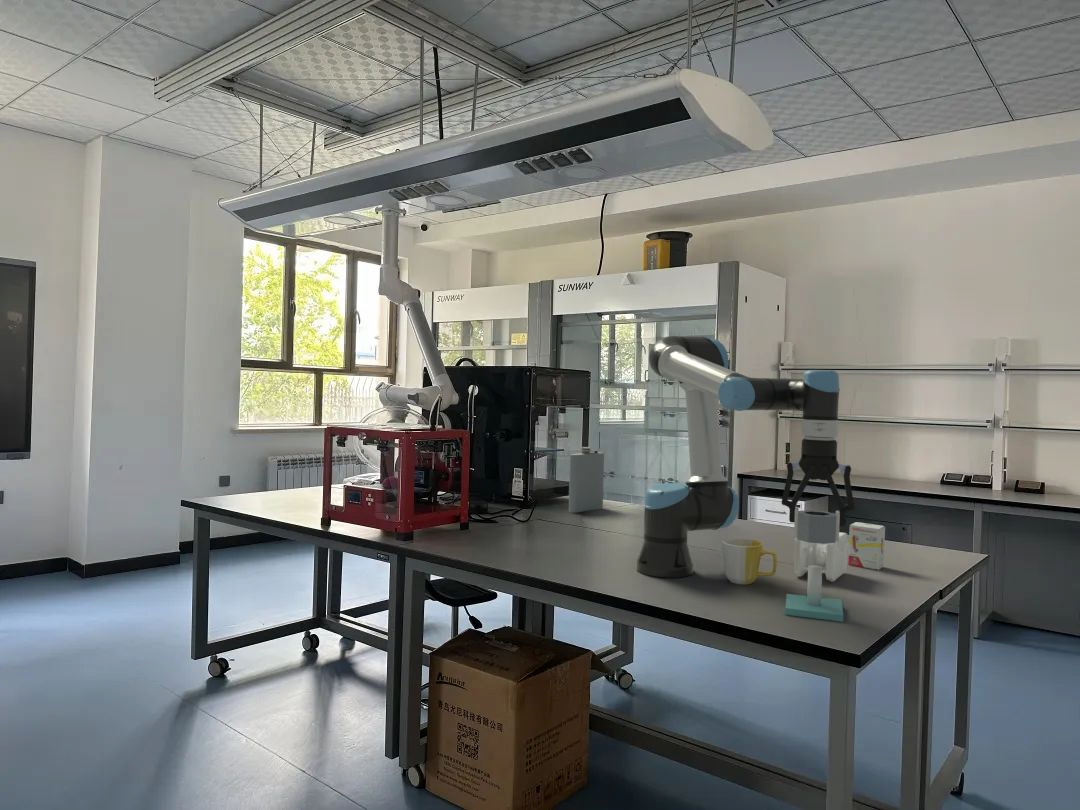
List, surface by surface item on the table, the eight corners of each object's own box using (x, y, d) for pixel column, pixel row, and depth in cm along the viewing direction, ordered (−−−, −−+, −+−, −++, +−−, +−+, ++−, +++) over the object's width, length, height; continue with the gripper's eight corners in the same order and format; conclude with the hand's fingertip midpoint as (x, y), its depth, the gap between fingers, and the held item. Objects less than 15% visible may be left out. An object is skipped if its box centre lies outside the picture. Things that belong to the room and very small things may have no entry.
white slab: (596, 506, 302) (597, 445, 302) (604, 508, 299) (605, 446, 298) (565, 511, 291) (566, 447, 290) (573, 513, 287) (575, 448, 287)
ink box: (847, 564, 213) (848, 523, 213) (852, 561, 217) (854, 521, 216) (878, 570, 207) (880, 528, 207) (884, 567, 211) (885, 525, 211)
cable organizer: (809, 567, 209) (810, 526, 209) (848, 573, 203) (850, 531, 203) (792, 578, 197) (794, 534, 197) (834, 585, 191) (836, 540, 191)
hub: (797, 541, 166) (798, 514, 166) (797, 534, 173) (798, 509, 173) (835, 544, 163) (836, 517, 163) (834, 538, 171) (835, 512, 171)
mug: (714, 582, 191) (715, 542, 191) (728, 574, 200) (729, 535, 199) (768, 592, 183) (769, 549, 183) (779, 583, 192) (781, 542, 192)
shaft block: (785, 614, 166) (786, 570, 165) (786, 600, 177) (788, 558, 176) (843, 621, 161) (844, 576, 161) (841, 606, 173) (842, 563, 172)
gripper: (770, 437, 168) (767, 537, 169) (871, 441, 161) (867, 546, 161) (772, 435, 175) (769, 531, 176) (868, 439, 168) (865, 539, 168)
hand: (816, 538), depth 168 cm, fingers closed on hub, 8 cm apart
